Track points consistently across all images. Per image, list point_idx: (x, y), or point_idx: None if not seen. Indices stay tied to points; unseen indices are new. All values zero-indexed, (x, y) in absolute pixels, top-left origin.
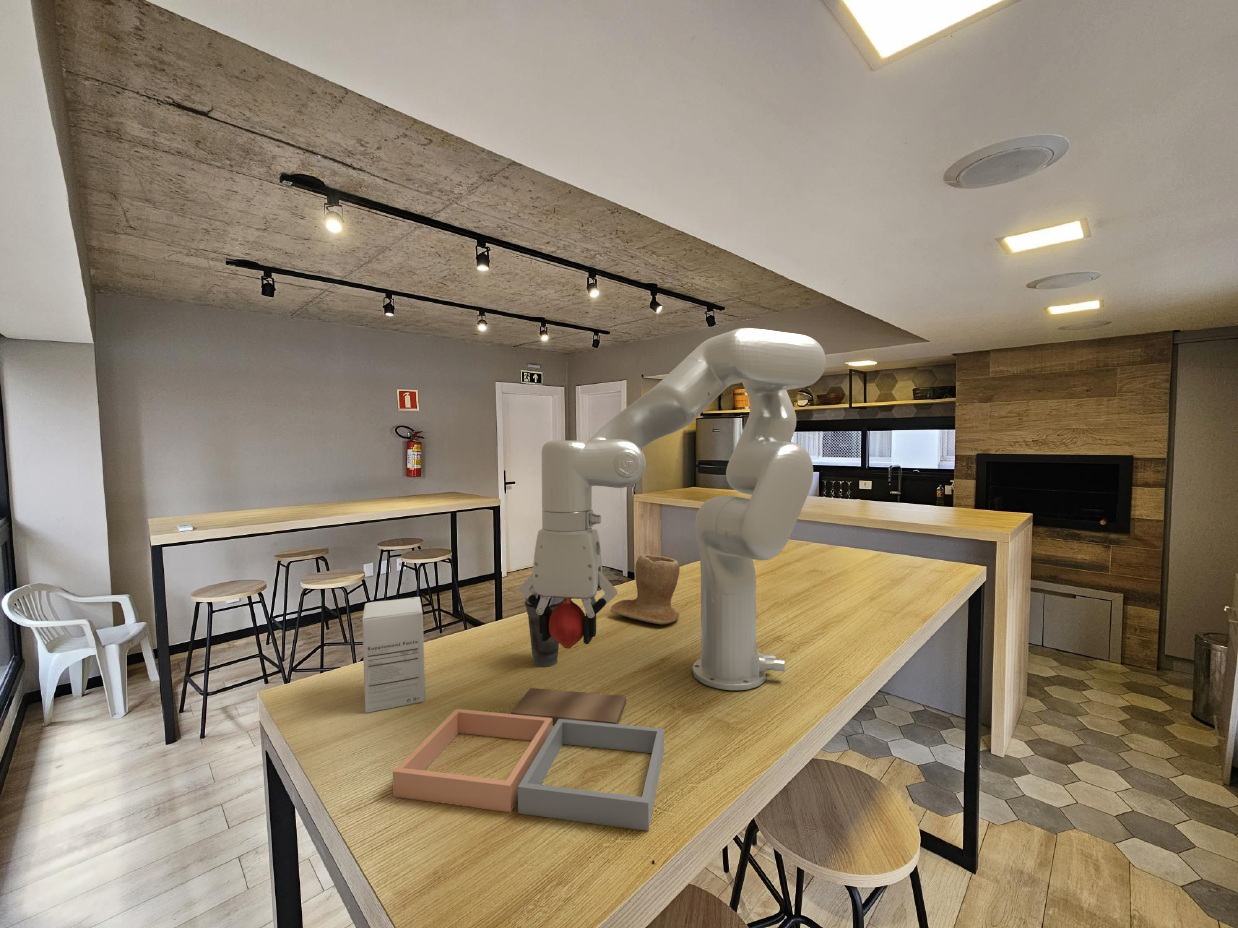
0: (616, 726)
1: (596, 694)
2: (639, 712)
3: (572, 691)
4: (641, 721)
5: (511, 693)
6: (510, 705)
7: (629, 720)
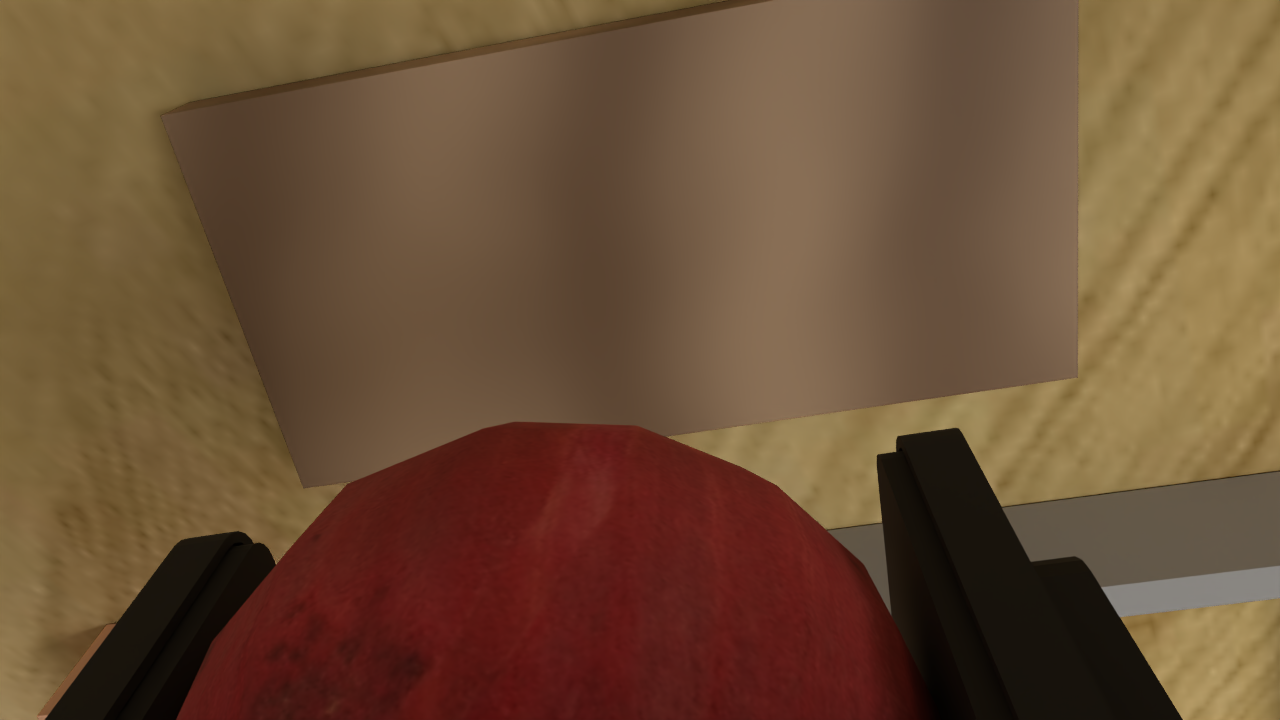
0: (1160, 599)
1: (790, 19)
2: (1196, 52)
3: (552, 44)
4: (1227, 179)
5: (30, 131)
6: (173, 297)
7: (1130, 197)
